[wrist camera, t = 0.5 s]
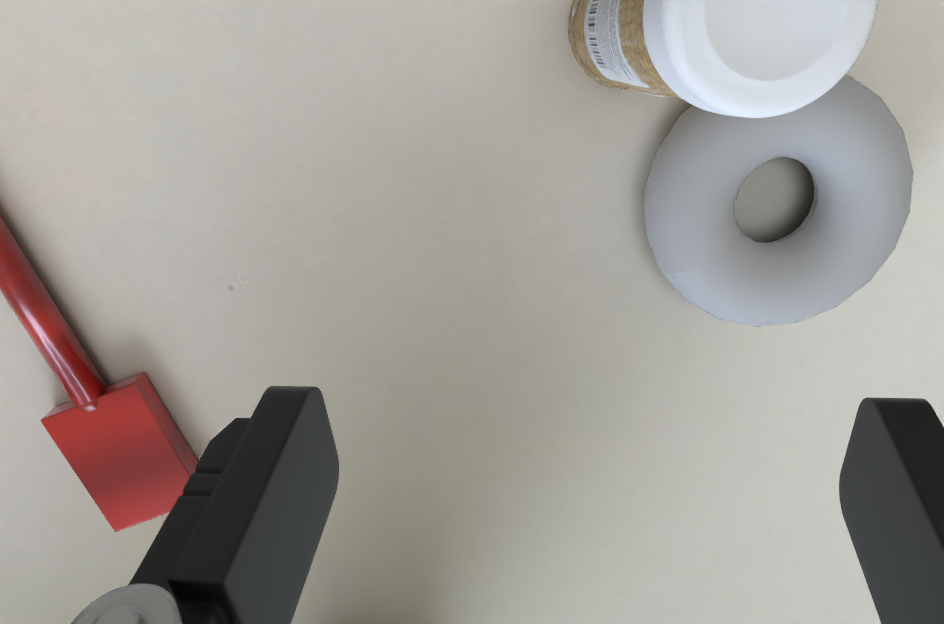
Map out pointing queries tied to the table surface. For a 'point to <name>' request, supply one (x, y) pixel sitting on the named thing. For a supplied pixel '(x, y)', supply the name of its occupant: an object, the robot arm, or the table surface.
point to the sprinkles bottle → (722, 49)
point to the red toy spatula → (100, 411)
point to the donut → (818, 237)
